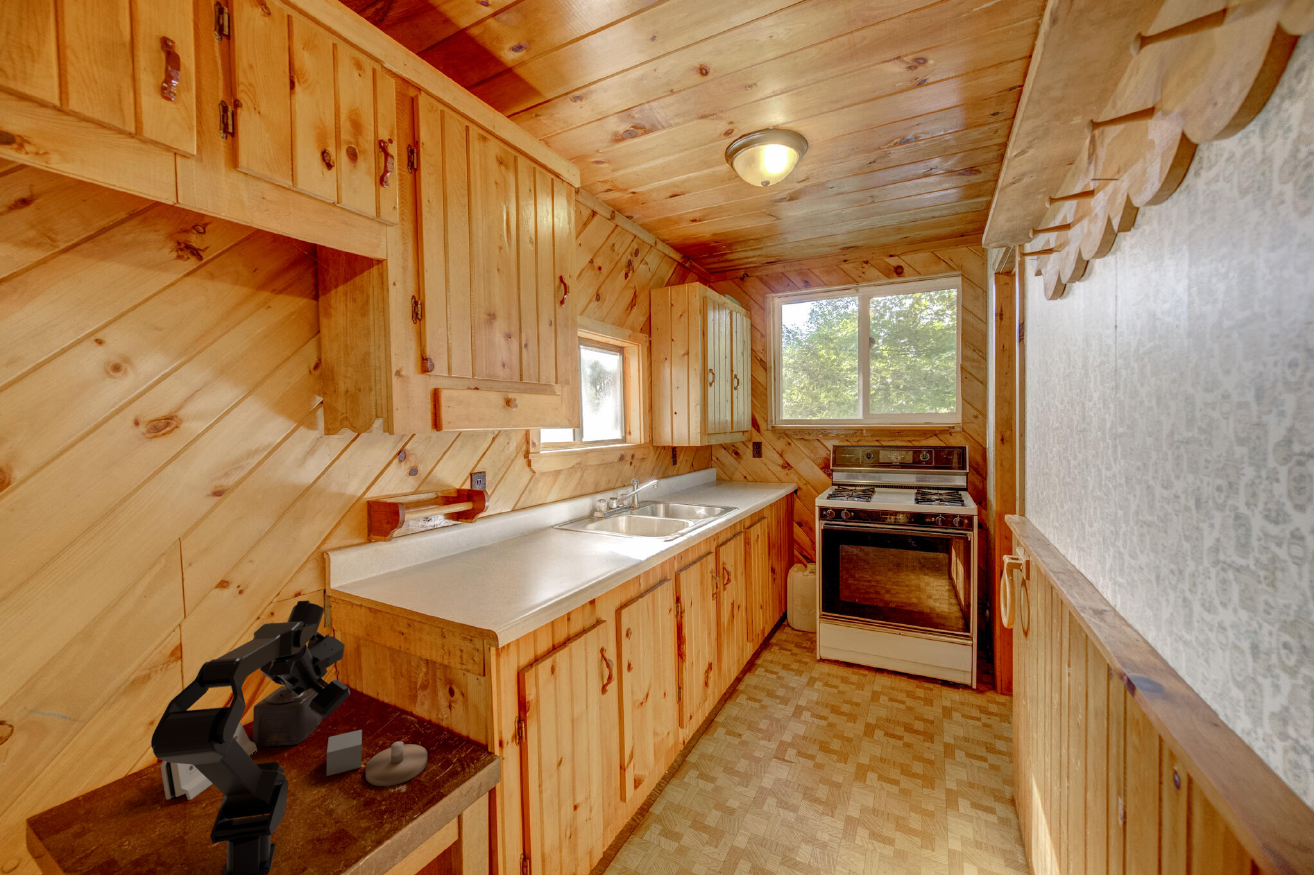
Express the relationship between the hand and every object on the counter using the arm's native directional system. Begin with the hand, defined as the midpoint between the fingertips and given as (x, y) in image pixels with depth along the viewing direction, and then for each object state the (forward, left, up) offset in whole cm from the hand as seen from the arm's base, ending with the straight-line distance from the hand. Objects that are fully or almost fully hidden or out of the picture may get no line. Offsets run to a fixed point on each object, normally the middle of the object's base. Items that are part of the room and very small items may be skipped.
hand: (315, 698), depth 112 cm
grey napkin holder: (+8, +19, -15) cm, 26 cm away
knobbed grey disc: (-9, -16, -15) cm, 23 cm away
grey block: (-2, -6, -15) cm, 16 cm away
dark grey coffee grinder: (+16, +4, -15) cm, 23 cm away
